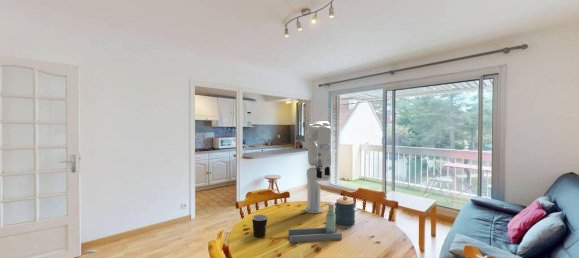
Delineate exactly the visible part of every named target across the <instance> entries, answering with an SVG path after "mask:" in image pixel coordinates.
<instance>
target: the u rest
mask: <svg viewBox="0 0 579 258" xmlns="http://www.w3.org/2000/svg"><path fill="white" fill-rule="evenodd" d="M288 239H289V241H290V244H291V245H296V244H297V245H298V243H299V242H300V243H301V242H317V241H318V242H319V241H332V240H333V241H334V240H342V239H343V233H342V232H337V226H335V233H328V234H326V226H325V227H323V226H322V227H308V228H307V227H304V228H303V227H302V228H291V229H290V228H289V229H288Z"/></svg>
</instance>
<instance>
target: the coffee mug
mask: <svg viewBox="0 0 579 258" xmlns="http://www.w3.org/2000/svg"><path fill="white" fill-rule="evenodd" d="M251 219H252V231H253V237H254V238H257V239H261V238H264V237H266V232H267V224H268V216H267V215H266V214H255V215H253V216H252V218H251Z"/></svg>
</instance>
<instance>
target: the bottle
mask: <svg viewBox="0 0 579 258" xmlns="http://www.w3.org/2000/svg"><path fill="white" fill-rule="evenodd" d="M334 206H335V203H333V202H329V203H328V210H327V212H326V214H325V227H326V234H328V233H335V227H336V222H335V218H336V215H335V210H334Z"/></svg>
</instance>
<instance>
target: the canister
mask: <svg viewBox="0 0 579 258" xmlns="http://www.w3.org/2000/svg"><path fill="white" fill-rule="evenodd" d="M354 203H355V201H354V200H353V199H351V198H349V197H348V196H347V195H343V196H342V197H339V198H338V199H336V201H335V203H334V206H335V208H334V214H335V215H336V218H335V224H336V225H337V224H338V225H341V226H346V227H347V226H353V225H355V223H356V219H355V218H356V217H355V216H356V215H355V214H356V210H355V207H356V204H354Z"/></svg>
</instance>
